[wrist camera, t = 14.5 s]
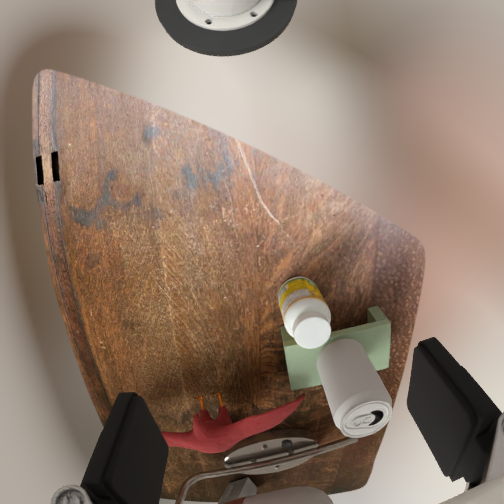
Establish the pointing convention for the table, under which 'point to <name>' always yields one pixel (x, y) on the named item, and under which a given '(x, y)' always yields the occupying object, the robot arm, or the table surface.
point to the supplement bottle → (304, 312)
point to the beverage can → (353, 389)
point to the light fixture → (272, 464)
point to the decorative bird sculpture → (226, 428)
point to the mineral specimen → (238, 490)
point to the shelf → (368, 335)
